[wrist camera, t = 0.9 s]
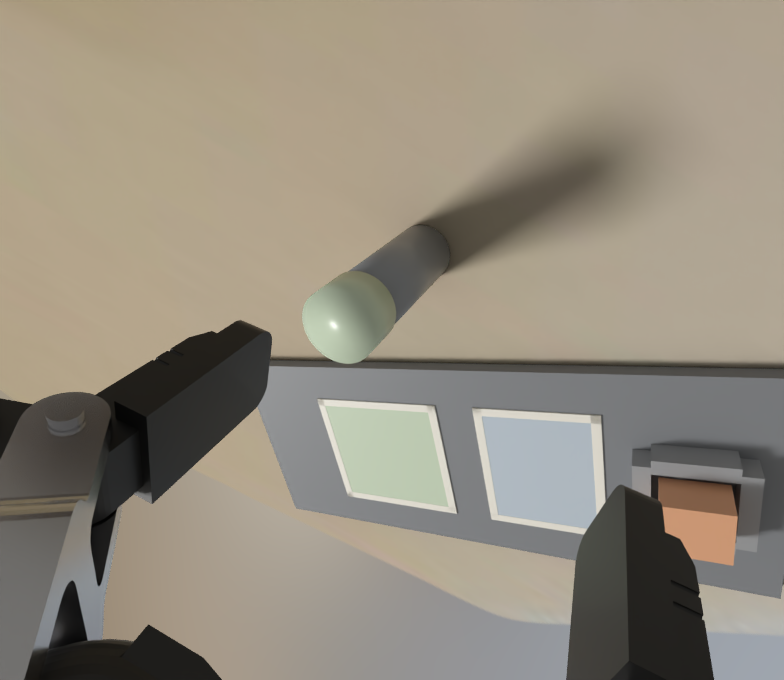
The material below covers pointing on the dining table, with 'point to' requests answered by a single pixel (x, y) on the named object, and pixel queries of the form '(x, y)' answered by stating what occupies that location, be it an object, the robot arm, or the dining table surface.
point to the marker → (374, 295)
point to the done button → (700, 518)
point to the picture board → (531, 449)
